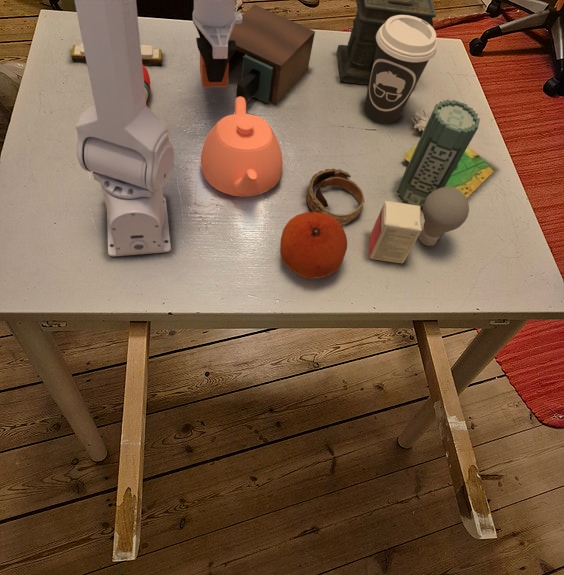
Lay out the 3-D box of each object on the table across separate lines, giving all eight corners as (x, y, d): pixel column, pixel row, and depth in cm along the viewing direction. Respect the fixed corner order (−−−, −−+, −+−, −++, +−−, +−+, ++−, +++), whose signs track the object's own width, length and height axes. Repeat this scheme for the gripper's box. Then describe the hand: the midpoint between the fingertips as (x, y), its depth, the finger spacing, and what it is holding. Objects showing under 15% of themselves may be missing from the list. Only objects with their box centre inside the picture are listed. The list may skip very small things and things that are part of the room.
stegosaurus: (410, 113, 84) (428, 135, 84) (427, 106, 89) (444, 126, 89) (400, 124, 86) (418, 145, 86) (417, 116, 91) (434, 136, 91)
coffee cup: (418, 125, 89) (453, 45, 77) (370, 134, 86) (398, 53, 74) (392, 89, 94) (422, 8, 81) (346, 97, 91) (369, 14, 78)
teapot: (274, 134, 83) (281, 84, 75) (288, 222, 74) (299, 175, 66) (198, 134, 81) (197, 82, 73) (203, 223, 72) (203, 176, 64)
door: (252, 119, 84) (255, 85, 79) (225, 106, 85) (226, 71, 79) (269, 101, 87) (273, 67, 81) (242, 89, 88) (245, 54, 82)
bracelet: (320, 172, 80) (323, 158, 77) (370, 196, 79) (376, 183, 76) (295, 208, 75) (298, 195, 73) (348, 234, 74) (353, 221, 72)
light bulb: (420, 217, 78) (446, 170, 69) (453, 240, 76) (484, 194, 68) (399, 240, 75) (424, 193, 67) (434, 264, 74) (463, 219, 65)
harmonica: (72, 62, 86) (70, 51, 85) (74, 51, 88) (71, 40, 86) (161, 66, 89) (160, 55, 87) (161, 55, 90) (161, 44, 89)
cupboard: (275, 105, 87) (281, 65, 81) (215, 76, 89) (216, 36, 83) (307, 70, 93) (315, 31, 87) (251, 44, 95) (254, 4, 89)
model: (340, 84, 92) (362, 1, 80) (334, 53, 97) (354, -30, 84) (413, 90, 94) (445, 10, 82) (404, 59, 99) (433, -21, 86)
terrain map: (459, 205, 80) (460, 204, 80) (401, 157, 83) (402, 155, 82) (495, 170, 86) (496, 168, 85) (440, 125, 88) (441, 123, 88)
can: (439, 186, 82) (482, 109, 69) (432, 213, 78) (476, 137, 66) (402, 173, 82) (438, 94, 69) (394, 199, 79) (430, 122, 66)
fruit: (273, 280, 70) (279, 258, 62) (282, 222, 73) (289, 194, 65) (337, 291, 70) (351, 270, 63) (343, 232, 73) (357, 206, 65)
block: (227, 86, 82) (228, 64, 79) (202, 87, 81) (202, 64, 78) (224, 70, 84) (225, 48, 81) (199, 71, 83) (199, 48, 80)
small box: (402, 240, 75) (421, 205, 68) (403, 264, 73) (423, 230, 66) (368, 235, 75) (384, 198, 68) (368, 259, 72) (384, 224, 66)
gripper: (252, 15, 67) (245, 101, 78) (236, -44, 74) (232, 43, 86) (197, 14, 66) (198, 102, 77) (186, -46, 73) (189, 43, 84)
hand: (213, 71), depth 81 cm, fingers closed on block, 4 cm apart
